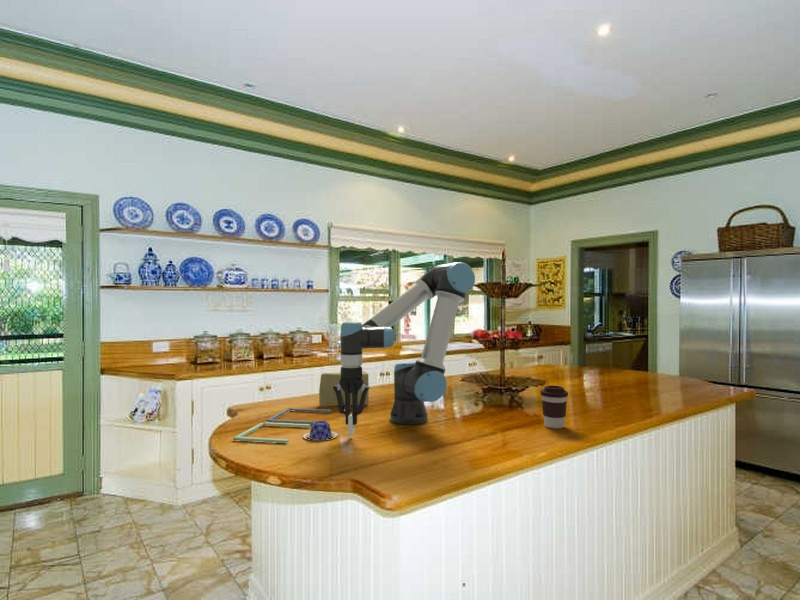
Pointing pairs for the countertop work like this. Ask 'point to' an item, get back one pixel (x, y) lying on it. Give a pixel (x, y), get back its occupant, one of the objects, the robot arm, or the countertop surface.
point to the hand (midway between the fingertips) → (351, 433)
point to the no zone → (296, 420)
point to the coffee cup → (554, 406)
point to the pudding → (320, 431)
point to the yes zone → (242, 438)
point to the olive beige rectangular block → (329, 395)
